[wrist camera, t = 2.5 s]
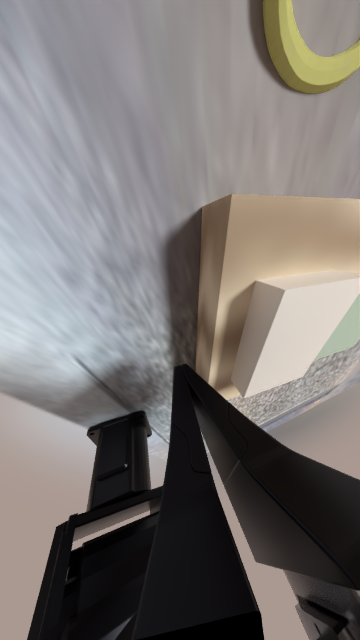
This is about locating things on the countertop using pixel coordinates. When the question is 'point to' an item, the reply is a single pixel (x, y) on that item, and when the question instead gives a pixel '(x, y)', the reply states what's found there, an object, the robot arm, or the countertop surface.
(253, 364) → the white flat block
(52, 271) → the countertop surface
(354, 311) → the mat
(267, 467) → the robot arm
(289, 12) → the key
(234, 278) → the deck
